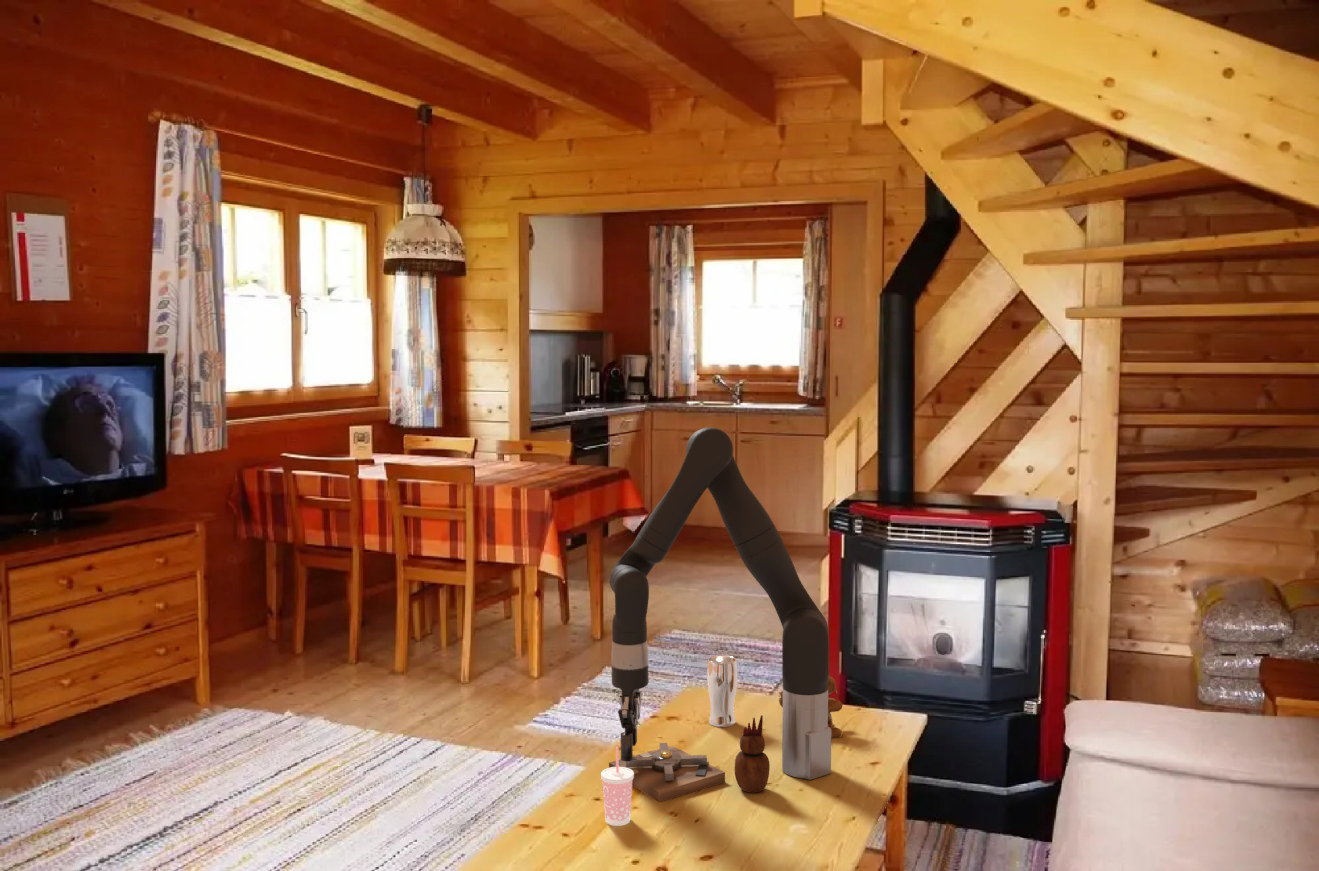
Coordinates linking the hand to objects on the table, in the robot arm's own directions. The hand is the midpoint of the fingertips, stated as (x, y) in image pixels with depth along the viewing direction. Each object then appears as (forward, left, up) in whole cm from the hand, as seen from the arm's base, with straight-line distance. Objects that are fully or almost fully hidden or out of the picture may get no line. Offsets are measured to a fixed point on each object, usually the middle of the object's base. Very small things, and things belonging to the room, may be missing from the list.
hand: (631, 744), depth 223 cm
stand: (-7, -4, -6) cm, 10 cm away
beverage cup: (-18, +15, -6) cm, 24 cm away
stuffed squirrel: (-4, -46, -6) cm, 47 cm away
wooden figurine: (-22, -14, -6) cm, 27 cm away
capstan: (-7, -4, -3) cm, 8 cm away
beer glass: (+11, -33, -6) cm, 35 cm away
